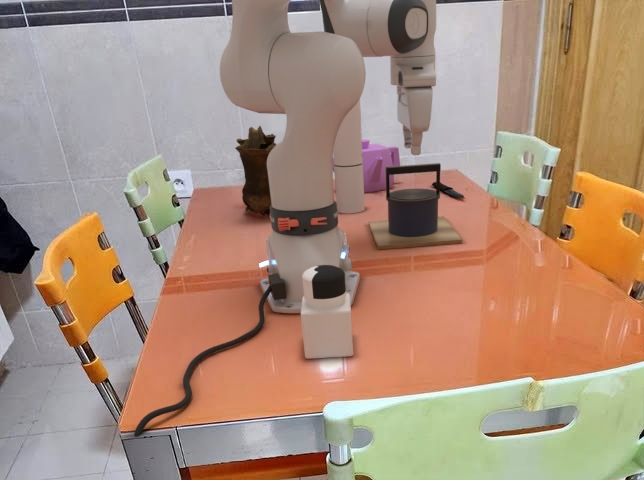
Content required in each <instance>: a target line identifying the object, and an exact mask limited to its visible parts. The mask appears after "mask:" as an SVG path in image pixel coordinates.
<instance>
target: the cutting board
mask: <svg viewBox="0 0 644 480" xmlns="http://www.w3.org/2000/svg"><path fill="white" fill-rule="evenodd" d="M368 227H369V229H370V232H371V235H372V237H373V239H374V242H375V245H376V247H377V249H378V250H389V249H390V250H392V249H403V248H404V249H405V248H417V247H429V246H430V247H431V246H442V245H455V244H457V245H459V244H462V243H463V239H462V238H461V236H460V235H459V234H458V233H457V232H456V230H455V229H454V227H453V226H452V225H451V224H450V222H449V221H448V220H447V219H446V217H445V216H442V215H441V216H438V230H437V231H436V232H435V233H433V234H430V235H426V236H419V237H402V236H396V235H393V234H391V233H389V228H388V219H387V220H386V219H385V220H373V221H368Z"/></svg>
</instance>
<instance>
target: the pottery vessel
mask: <svg viewBox="0 0 644 480" xmlns="http://www.w3.org/2000/svg"><path fill="white" fill-rule="evenodd" d="M276 137H277V136H276V135H275V134H274V133H271V134H265V133H264V132H263V128H262V125H259V126H258V127H257V129H255V128H254V127H253V126H250V127H249V128H248V136H247V138H244V139H242V138H237V139H236V143H237V144H238V145H237V146H236V147H235V148H234V149H235V150H236V151H237V152H238V153H239V157H240V160H241V164H242V166H243V174H244V179H245V180H244V185H243V186H242V190H241V194H242V196H241V197H242V198H241V199H242V202H243V204H244V205H245V212H246V213H248V212H251V213H254V214H257V213H260V215H261V216H263V217H266V216H269V217H270V206H271V205H272V204H271V196H270V187H269V179H268V171H267V158H268V155H269V153H270V152H271V150H272V149H273V148H274V147H275V146H276V145H277V143H276V142H275V139H276Z"/></svg>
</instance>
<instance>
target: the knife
mask: <svg viewBox="0 0 644 480" xmlns="http://www.w3.org/2000/svg"><path fill="white" fill-rule="evenodd" d="M431 186H432V187H434V188H436V181H434V182H432V183H431ZM440 191H441V192H442V193H444V194H449V195H451V196H453V197H455V198H459V199H465V195H464V194H462V193H460V192H458V191H457V190H454V188H453V187H451V186H448V185H446V184H444V183H442V182H441V181H440Z"/></svg>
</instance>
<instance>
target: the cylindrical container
mask: <svg viewBox="0 0 644 480" xmlns="http://www.w3.org/2000/svg"><path fill="white" fill-rule="evenodd" d="M361 111H362V110H361V98H360V99H359V101H358V102H357V104H356V105H355V106H354V107H353V108H352V109H351V110H350V111H349V112H348V114H347V115H346V116H345V118H344V120H343V121H342V123H341V125H340V128H339V130H338V133H337V136H336V139H335V143H334V149H333V158H334V171H333V174H334V188H335V201H336V203H337V209H338V213H341V214H356V213H361V212H364V211H365V210H366V209H365V193H364V182H363V159H362V140H363V136H362V115H361Z"/></svg>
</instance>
